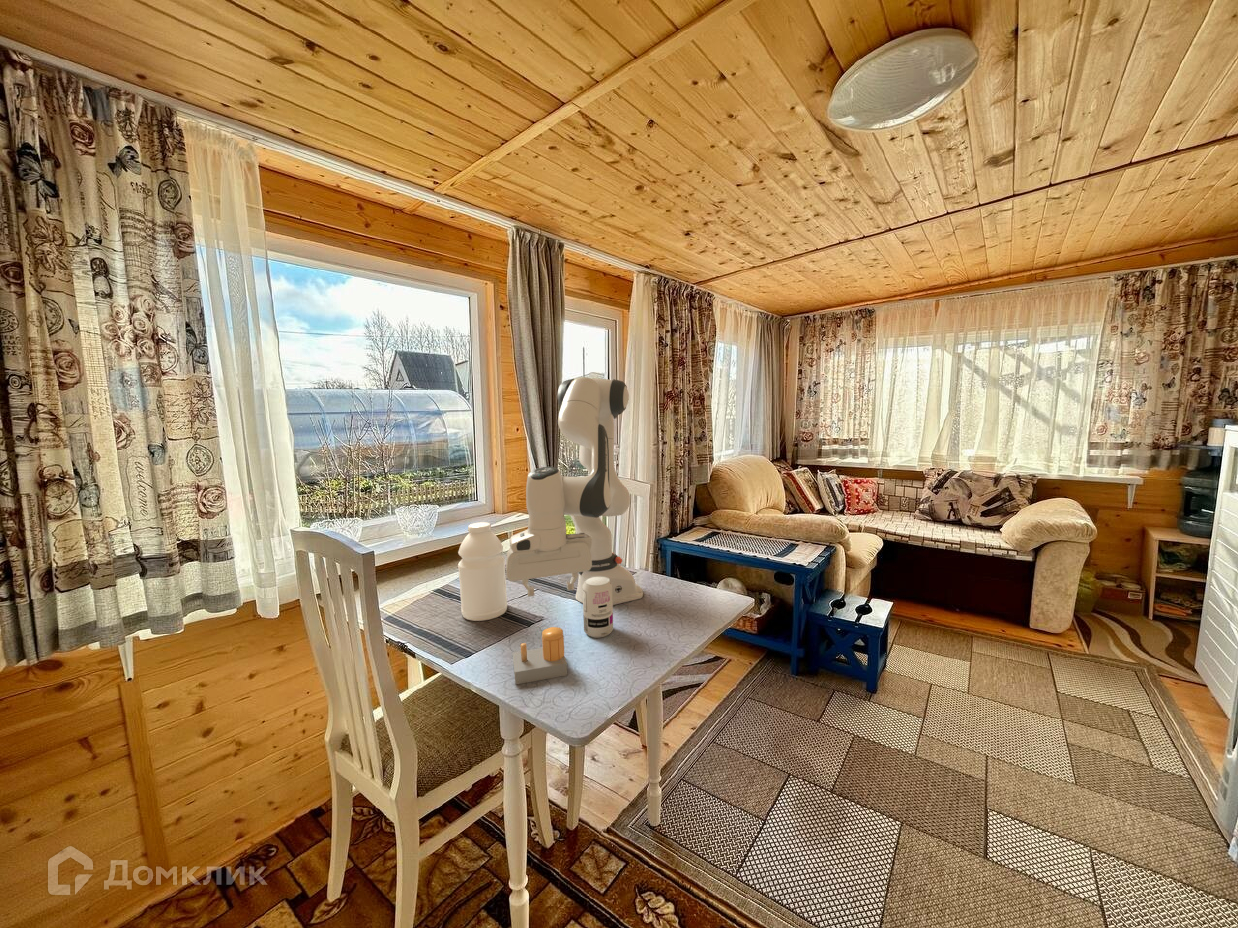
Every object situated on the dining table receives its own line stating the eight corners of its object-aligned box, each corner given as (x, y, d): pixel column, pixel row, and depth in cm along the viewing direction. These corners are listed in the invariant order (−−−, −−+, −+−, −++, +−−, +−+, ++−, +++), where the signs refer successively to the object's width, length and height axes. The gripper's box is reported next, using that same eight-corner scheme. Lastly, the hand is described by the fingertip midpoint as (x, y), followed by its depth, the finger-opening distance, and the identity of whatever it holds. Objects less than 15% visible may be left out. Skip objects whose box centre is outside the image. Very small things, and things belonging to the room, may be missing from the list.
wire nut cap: (562, 648, 116) (561, 625, 115) (565, 658, 111) (564, 635, 110) (542, 652, 114) (541, 629, 114) (544, 662, 109) (543, 638, 109)
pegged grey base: (561, 655, 118) (560, 629, 117) (567, 675, 109) (565, 647, 108) (513, 664, 115) (511, 637, 114) (515, 684, 106) (513, 656, 105)
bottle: (495, 623, 137) (489, 531, 133) (452, 620, 139) (446, 530, 136) (514, 603, 150) (510, 519, 147) (476, 601, 153) (470, 518, 150)
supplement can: (597, 622, 136) (595, 573, 134) (619, 630, 131) (617, 579, 129) (578, 633, 130) (576, 581, 128) (600, 641, 124) (598, 588, 123)
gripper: (588, 528, 115) (590, 581, 117) (503, 537, 109) (507, 593, 111) (593, 535, 109) (596, 591, 111) (504, 545, 103) (508, 604, 105)
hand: (551, 592), depth 111 cm, fingers open, 8 cm apart
